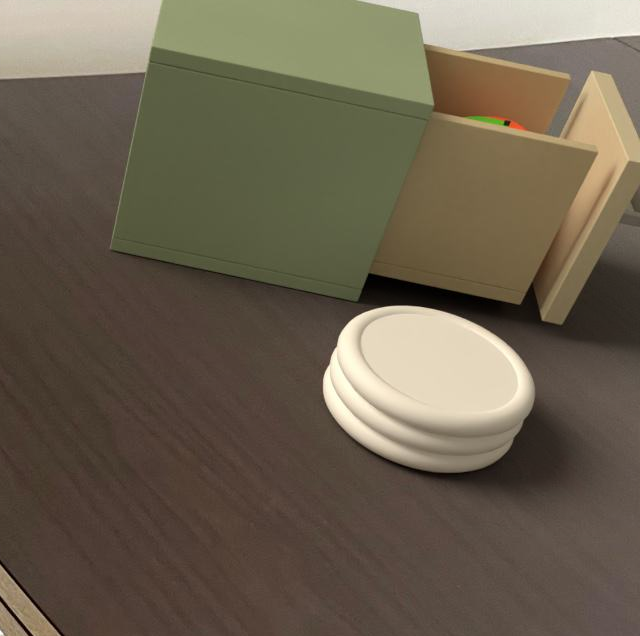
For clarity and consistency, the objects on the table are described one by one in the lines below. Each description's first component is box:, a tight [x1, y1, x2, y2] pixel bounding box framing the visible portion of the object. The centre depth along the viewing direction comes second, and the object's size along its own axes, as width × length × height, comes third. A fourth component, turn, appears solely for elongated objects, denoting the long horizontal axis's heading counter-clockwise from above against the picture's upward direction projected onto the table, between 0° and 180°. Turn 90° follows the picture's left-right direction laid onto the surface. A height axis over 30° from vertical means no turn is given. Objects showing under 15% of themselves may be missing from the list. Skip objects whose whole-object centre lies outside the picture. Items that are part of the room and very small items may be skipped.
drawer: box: [368, 43, 640, 326], centre depth 67 cm, size 17×11×10 cm, turn 81°
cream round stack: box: [322, 305, 536, 474], centre depth 59 cm, size 10×10×4 cm
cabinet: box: [109, 0, 434, 303], centre depth 67 cm, size 15×13×12 cm
